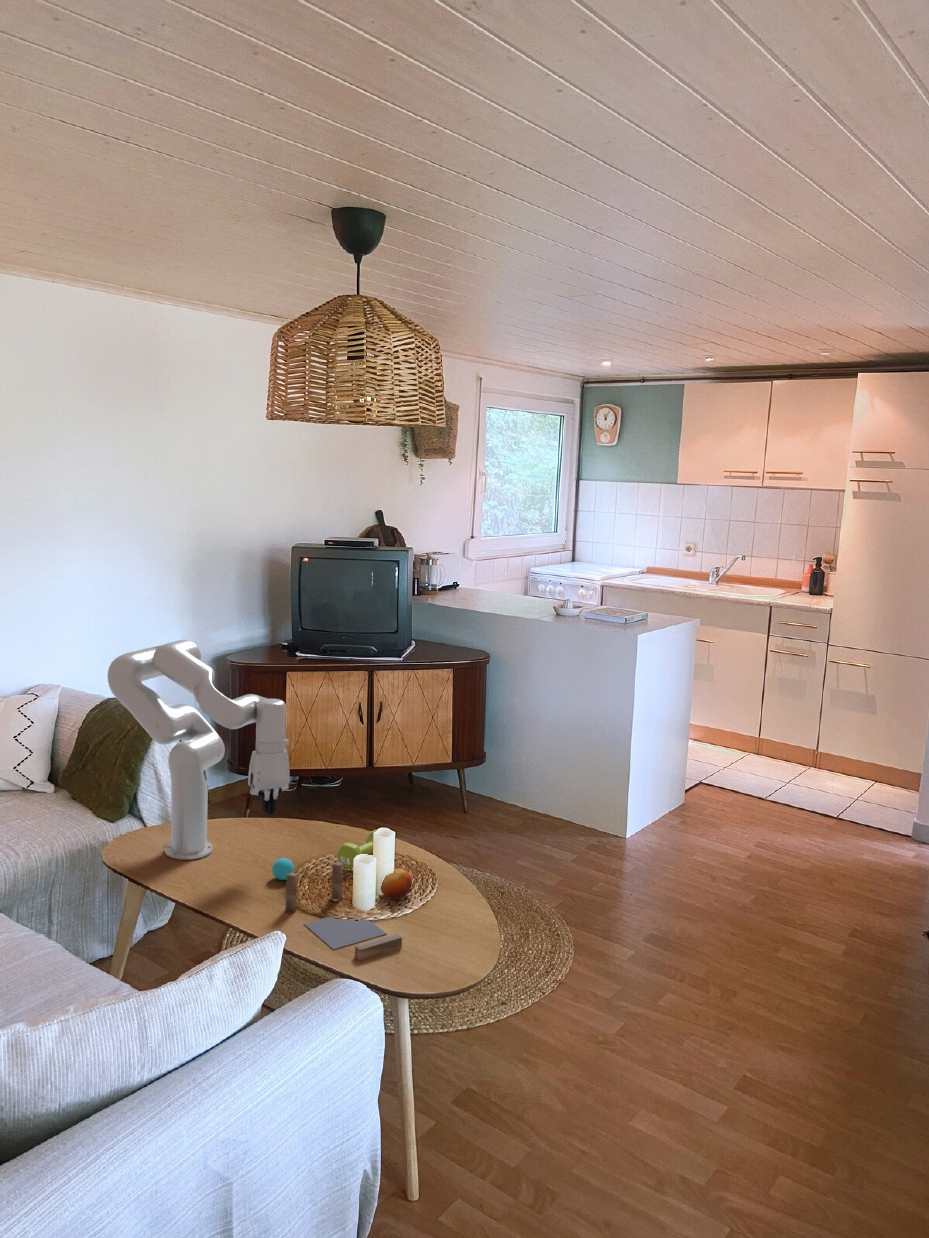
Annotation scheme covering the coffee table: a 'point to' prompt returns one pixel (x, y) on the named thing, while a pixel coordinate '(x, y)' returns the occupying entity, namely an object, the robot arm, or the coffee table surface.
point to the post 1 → (291, 892)
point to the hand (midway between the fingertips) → (268, 812)
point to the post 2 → (337, 880)
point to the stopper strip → (378, 947)
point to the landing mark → (344, 931)
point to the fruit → (397, 884)
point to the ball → (282, 868)
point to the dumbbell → (354, 851)
